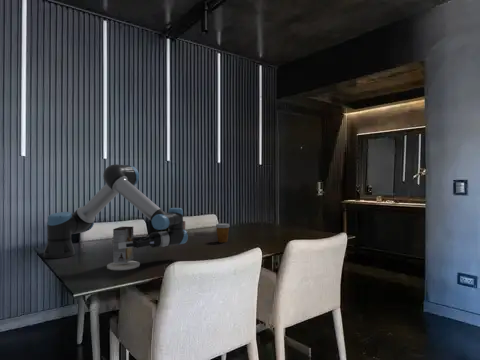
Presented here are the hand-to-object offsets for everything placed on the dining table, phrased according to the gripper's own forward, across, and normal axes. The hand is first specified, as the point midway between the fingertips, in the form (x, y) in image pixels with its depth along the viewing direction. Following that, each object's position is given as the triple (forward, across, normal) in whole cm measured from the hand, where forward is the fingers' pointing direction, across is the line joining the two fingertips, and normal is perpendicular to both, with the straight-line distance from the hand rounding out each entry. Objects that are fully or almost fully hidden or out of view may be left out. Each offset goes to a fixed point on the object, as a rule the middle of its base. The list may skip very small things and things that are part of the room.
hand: (114, 244), depth 164 cm
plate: (-4, 0, -11) cm, 12 cm away
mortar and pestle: (-58, +49, -11) cm, 77 cm away
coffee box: (-4, 0, -9) cm, 10 cm away
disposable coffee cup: (-81, +27, -11) cm, 86 cm away
